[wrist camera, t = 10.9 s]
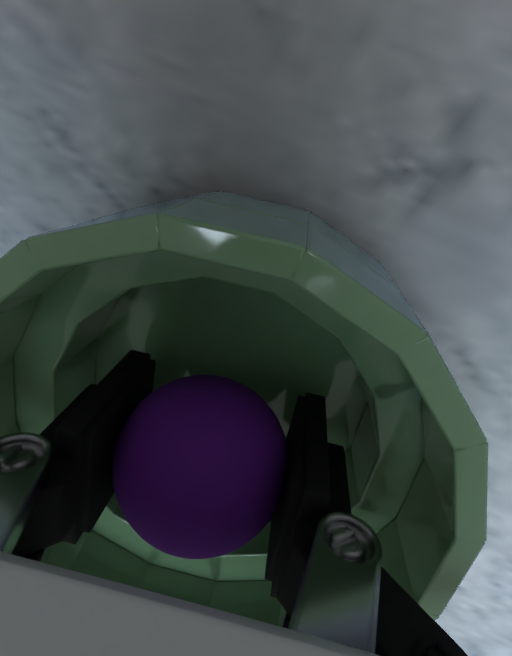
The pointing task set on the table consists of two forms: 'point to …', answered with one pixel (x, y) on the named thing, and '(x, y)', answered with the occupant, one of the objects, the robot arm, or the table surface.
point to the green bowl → (250, 377)
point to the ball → (200, 466)
